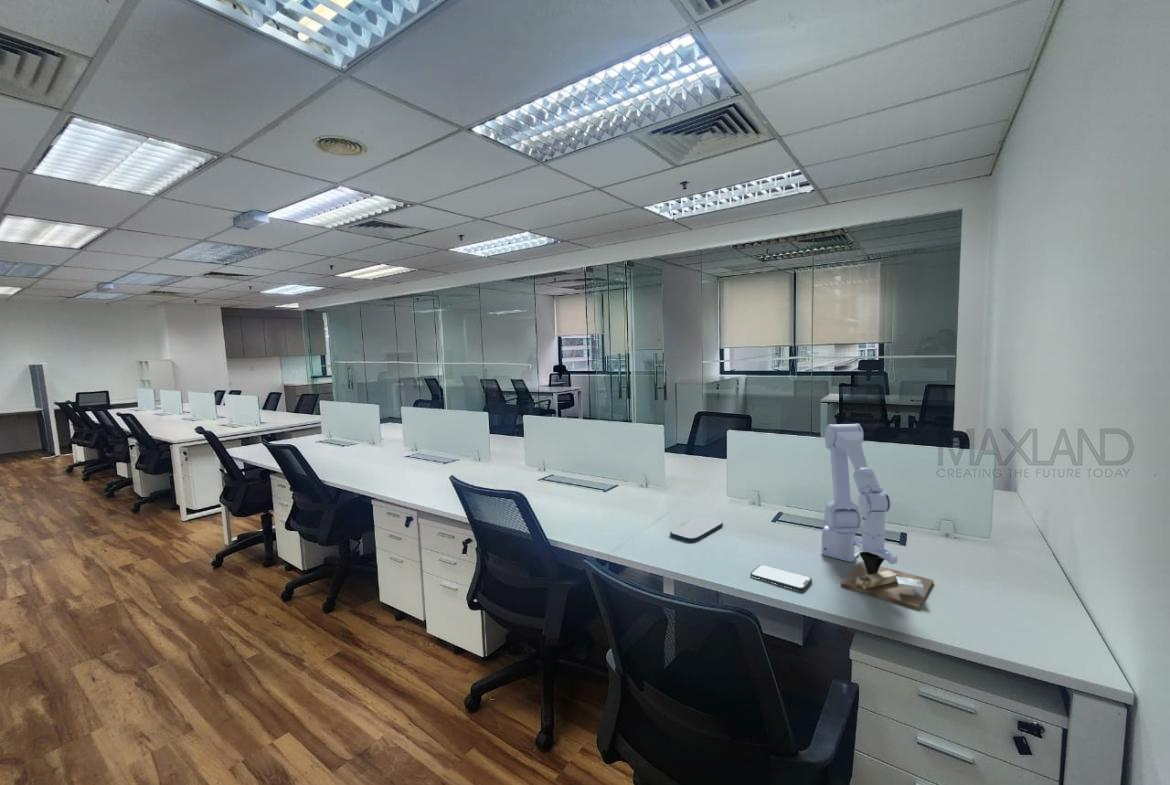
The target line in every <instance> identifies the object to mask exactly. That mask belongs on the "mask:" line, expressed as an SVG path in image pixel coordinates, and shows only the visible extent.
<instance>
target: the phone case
mask: <svg viewBox="0 0 1170 785" xmlns="http://www.w3.org/2000/svg"><path fill="white" fill-rule="evenodd" d="M750 575H751V576H753V577H756V578H760V579H763V580H766V581H769V582H773V583H776V584H778V585H782V586H786V587H789V588H792V589H795V590H798V591H804V590H805V589H806V588H807V587H808V586H809V585H810V586H811V585H812V584H813V579H812V578H811V577H810V576H806V575H802V574H799V573H794V572H790V571H787V570H785V569H784V570H783V569H779V568H776V567H772V566H769V565H764V564H760V565H758V566H756V568H754V569H753V570H752V571H751V572H750V574H749V576H750ZM751 576H750V577H751ZM778 585H777V586H778ZM810 586H809V587H810ZM809 587H808V588H809ZM808 588H807V589H808ZM807 589H806V590H807ZM806 590H805V591H806ZM798 591H797V592H798ZM805 591H804V592H805Z"/></svg>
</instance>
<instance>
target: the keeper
mask: <svg viewBox="0 0 1170 785" xmlns="http://www.w3.org/2000/svg"><path fill="white" fill-rule="evenodd" d="M896 581H897V584H898V586H901V587H907V588H912V593H913V596H915V597H921V598H923V590H924V587H923V584H922V582H921V580H919V579H912V578H905V577H898V576H896Z"/></svg>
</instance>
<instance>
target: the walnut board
mask: <svg viewBox="0 0 1170 785" xmlns="http://www.w3.org/2000/svg"><path fill="white" fill-rule="evenodd" d="M888 570H890V571H892V572H894V573H896V574H898V577H905V578H912V579H919V580H921V582H922V584H923V587H924V590H923V598H921V597H915V596H913V593H912V588H907V587H901V586H898V584H897V582H893V583H888V584H884V585H880V586H875V587H871V588H869V589H863V588H861V587H859V586H857V585H856V584H855V581H856V577H858V576H861V575H863V576H865V575H868V574H867V570H866V567H865V564H864V561H863V560H861V561H859V563H858V564H857V565H856V566H855V567H854V568H853V569H852V570H851V571H850V573H849V574H847V576H846V577H845V578H844V579H843V580H842V581H841V582H840V587H841V586H842V588H845V589H847V590H848V589H849V590H853V591H854V592H855V591H856V592H858V593H862V594H866V595H868V596H871V597H875V598H878V599H882V600H885V601H888V602H891V603H894V604H897V605H900V606H905V607H909V608H911V609H914V610H918V611H919V609H920V608H921V606H922V605H923V602H924V601H925V599H926V597H927V595H928V593H929V592H930V590H931V588H932V586H933V585H934V579H930V578H928V577H923V576H919V575H916V574H911V573H908V572H904V571H900V570H896V569H892V568H888V567H884V566H881V565H880V567H879V569H878V572H883V571H888ZM878 572H877V573H878Z"/></svg>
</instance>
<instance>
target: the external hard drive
mask: <svg viewBox="0 0 1170 785" xmlns="http://www.w3.org/2000/svg"><path fill="white" fill-rule="evenodd" d="M723 526H724V523H723V521H722V520H721V519H717V518H713V517H709V516H702V515H701V516H697V517H694V518H693V519H690V520H688V521H686V522H684V523H682V524H681V525H679V526H676V527H675V528H672V529H671V530H670V533H669V534H670V538H673V539H676V538H677V539H676V540H679V539H680V540H679V541H682V540H684V541H683V542H686V541H688V542H687V543H696V542H695V541H697V542H699V541H701V540H702V538H703V539H704V538H706V537H708V536H709V534H710V535H711V534H713V533H715V532H717V531H718V530H720V529H721V528H723ZM719 528H720V529H719ZM716 530H717V531H716ZM714 531H715V532H714ZM712 532H713V533H712ZM707 535H708V536H707ZM700 539H701V540H700ZM698 540H699V541H698Z"/></svg>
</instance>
